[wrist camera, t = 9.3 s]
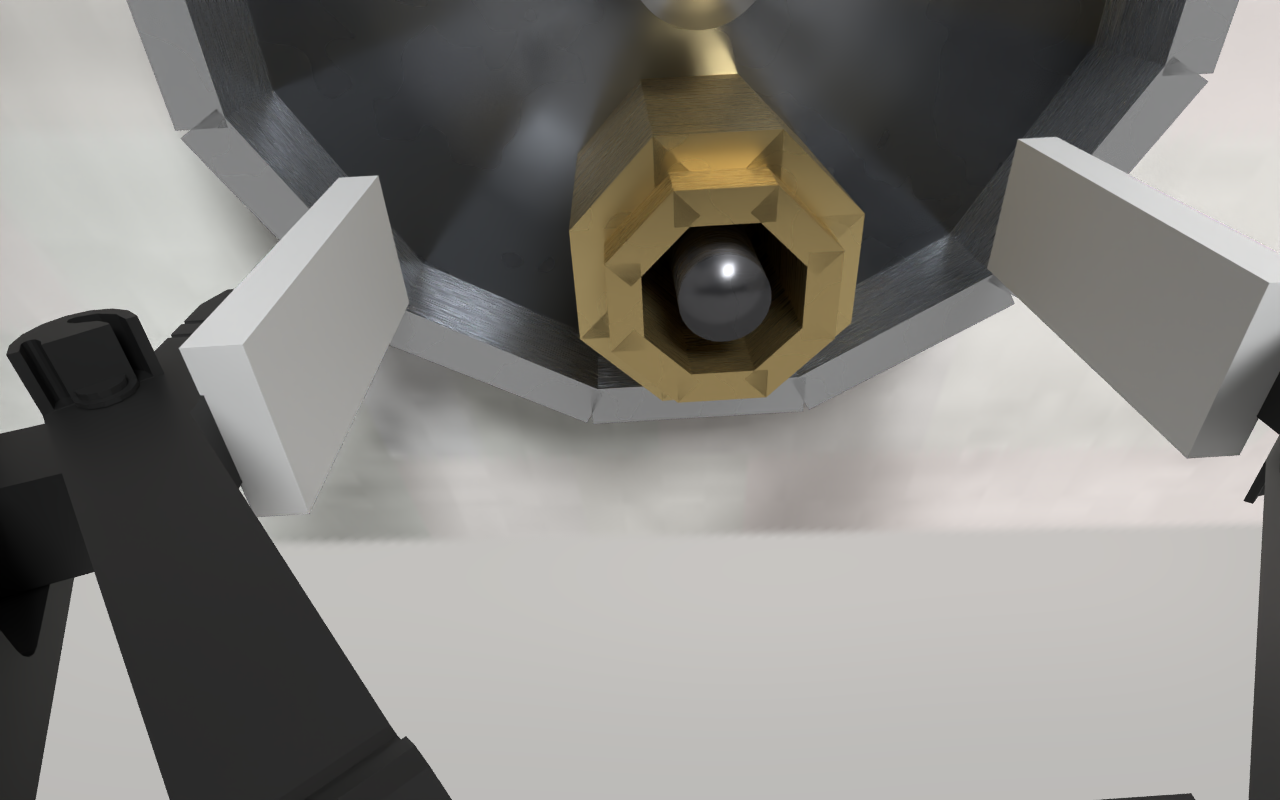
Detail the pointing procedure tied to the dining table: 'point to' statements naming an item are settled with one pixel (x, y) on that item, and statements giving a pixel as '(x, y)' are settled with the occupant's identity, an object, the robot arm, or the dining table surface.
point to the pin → (719, 282)
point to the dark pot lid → (591, 90)
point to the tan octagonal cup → (705, 196)
